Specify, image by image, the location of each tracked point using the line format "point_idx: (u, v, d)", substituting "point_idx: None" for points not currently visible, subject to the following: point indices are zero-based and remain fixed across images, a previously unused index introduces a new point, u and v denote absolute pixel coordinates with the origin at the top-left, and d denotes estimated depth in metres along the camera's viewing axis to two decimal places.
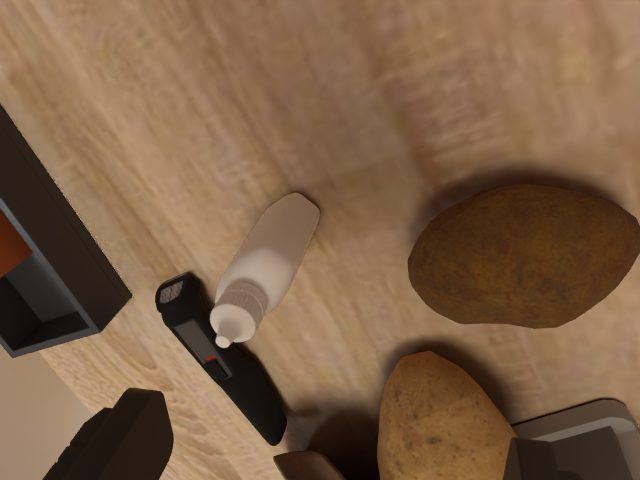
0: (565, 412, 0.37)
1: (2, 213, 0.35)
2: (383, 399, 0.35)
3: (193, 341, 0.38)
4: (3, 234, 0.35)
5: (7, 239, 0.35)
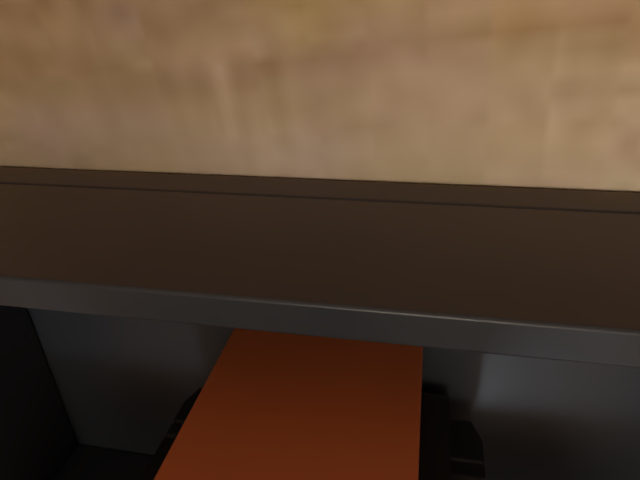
0: None
1: (250, 357, 0.10)
2: None
3: None
4: (296, 400, 0.09)
5: (318, 403, 0.09)
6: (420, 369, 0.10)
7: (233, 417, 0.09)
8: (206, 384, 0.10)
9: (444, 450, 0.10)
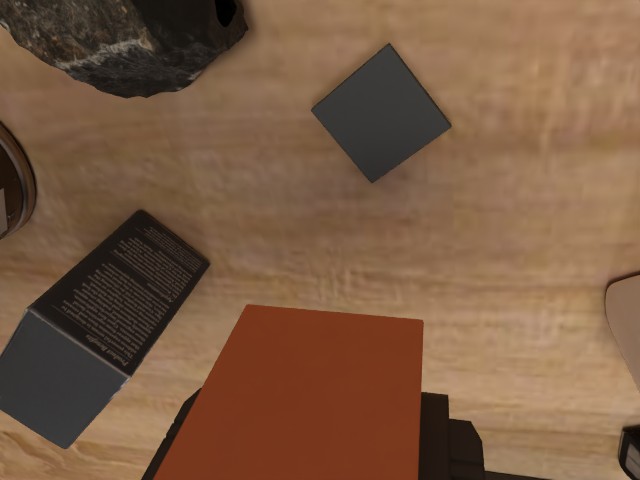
0: None
1: (250, 357, 0.10)
2: None
3: None
4: (295, 399, 0.09)
5: (318, 403, 0.09)
6: (420, 369, 0.10)
7: (233, 417, 0.09)
8: (205, 384, 0.10)
9: (444, 450, 0.10)
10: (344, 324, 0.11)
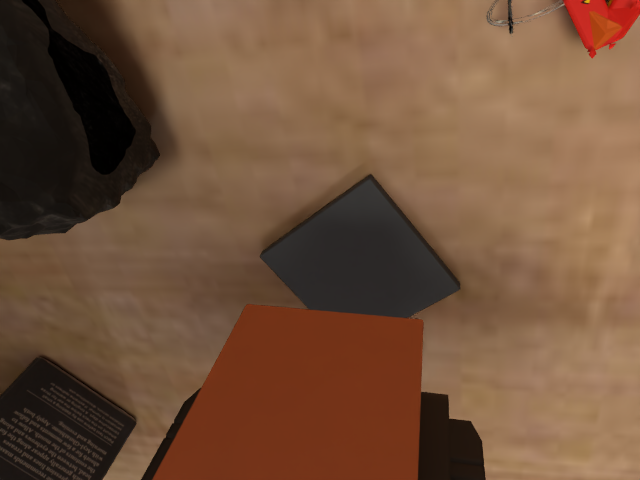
0: None
1: (250, 356, 0.10)
2: None
3: None
4: (295, 399, 0.09)
5: (318, 403, 0.09)
6: (420, 368, 0.10)
7: (233, 416, 0.09)
8: (205, 383, 0.10)
9: (444, 450, 0.10)
10: (344, 324, 0.11)
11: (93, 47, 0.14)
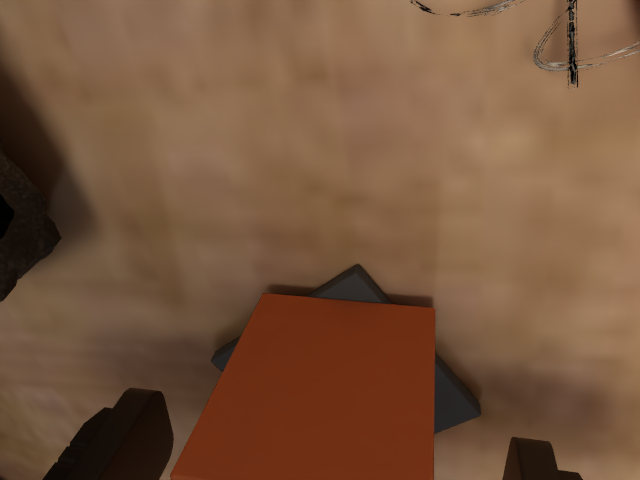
0: None
1: (268, 342, 0.11)
2: None
3: None
4: (314, 382, 0.10)
5: (336, 385, 0.10)
6: (433, 353, 0.10)
7: (254, 398, 0.09)
8: (227, 367, 0.10)
9: None
10: (358, 312, 0.11)
11: None
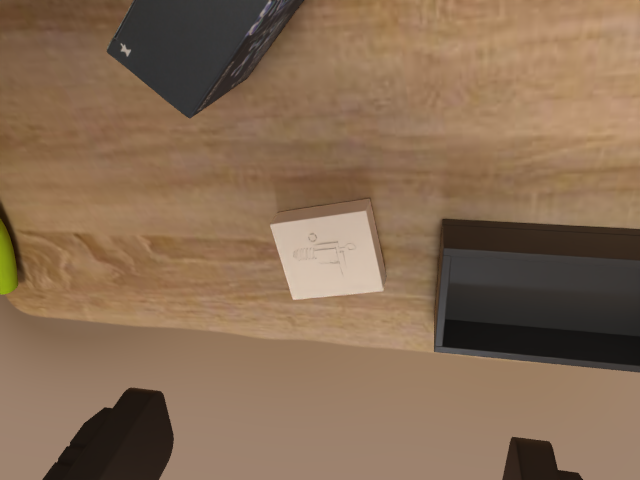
0: None
1: None
2: None
3: None
4: None
5: None
6: None
7: None
8: None
9: None
10: None
11: None
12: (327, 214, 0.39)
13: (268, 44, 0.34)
